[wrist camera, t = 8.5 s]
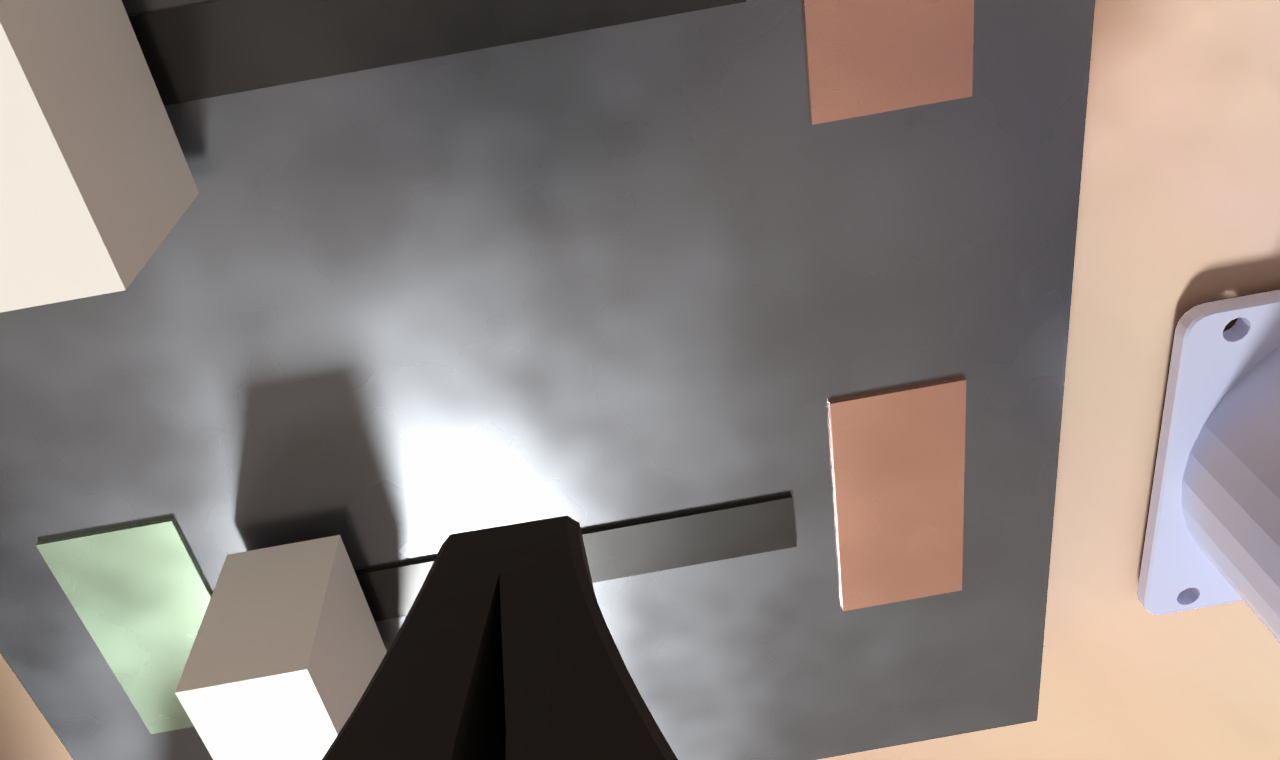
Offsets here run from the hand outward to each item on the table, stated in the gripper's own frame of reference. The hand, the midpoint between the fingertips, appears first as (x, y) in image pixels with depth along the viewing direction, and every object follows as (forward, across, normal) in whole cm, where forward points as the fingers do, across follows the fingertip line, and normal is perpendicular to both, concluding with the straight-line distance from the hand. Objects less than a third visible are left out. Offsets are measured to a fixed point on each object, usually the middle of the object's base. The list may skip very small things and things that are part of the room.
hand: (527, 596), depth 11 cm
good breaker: (+6, +5, +5) cm, 10 cm away
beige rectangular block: (+6, +5, -5) cm, 9 cm away
